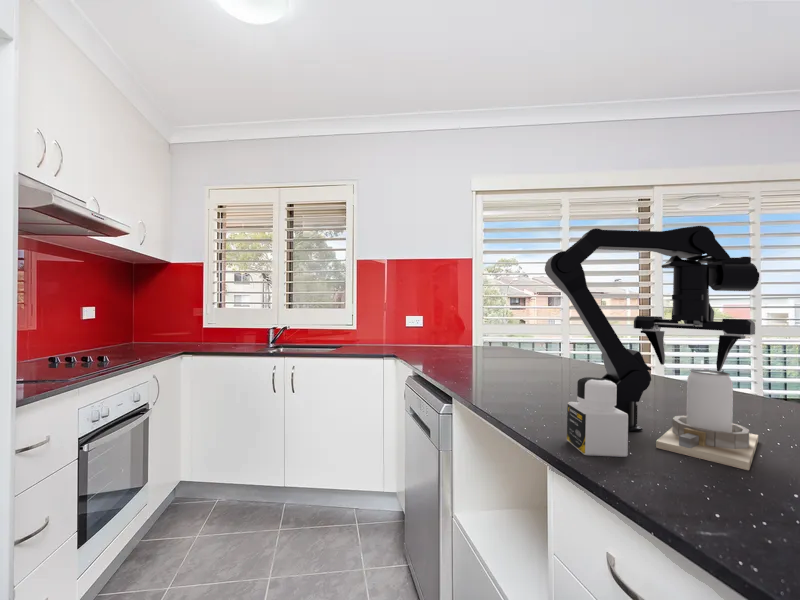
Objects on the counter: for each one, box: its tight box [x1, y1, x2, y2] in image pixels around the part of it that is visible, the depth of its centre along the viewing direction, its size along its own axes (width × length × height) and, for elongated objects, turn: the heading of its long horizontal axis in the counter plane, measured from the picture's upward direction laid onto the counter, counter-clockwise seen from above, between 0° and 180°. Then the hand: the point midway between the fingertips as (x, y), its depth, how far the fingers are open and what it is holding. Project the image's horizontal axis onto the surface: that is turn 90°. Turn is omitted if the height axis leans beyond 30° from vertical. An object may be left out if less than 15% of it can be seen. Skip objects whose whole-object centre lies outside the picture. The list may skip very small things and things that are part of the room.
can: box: [686, 368, 734, 432], centre depth 69 cm, size 6×6×12 cm
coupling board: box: [655, 415, 759, 471], centre depth 69 cm, size 20×12×4 cm, turn 133°
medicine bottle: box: [566, 376, 629, 458], centre depth 65 cm, size 7×7×12 cm
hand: (689, 367), depth 76 cm, fingers open, 9 cm apart
